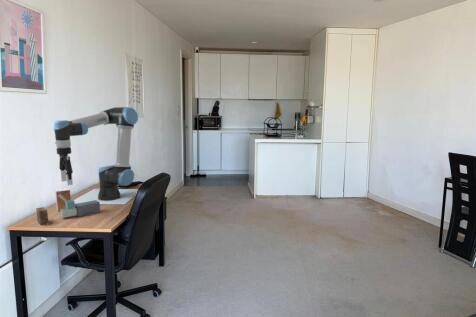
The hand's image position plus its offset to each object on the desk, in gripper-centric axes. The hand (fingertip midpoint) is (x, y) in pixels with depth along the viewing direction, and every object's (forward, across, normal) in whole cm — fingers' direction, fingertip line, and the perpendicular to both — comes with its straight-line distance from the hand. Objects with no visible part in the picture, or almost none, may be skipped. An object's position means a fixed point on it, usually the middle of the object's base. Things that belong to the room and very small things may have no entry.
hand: (67, 183), depth 205 cm
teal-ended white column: (+19, 0, +5) cm, 20 cm away
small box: (+21, -20, +1) cm, 29 cm away
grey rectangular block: (+21, 0, +10) cm, 23 cm away
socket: (+21, +1, -15) cm, 25 cm away
